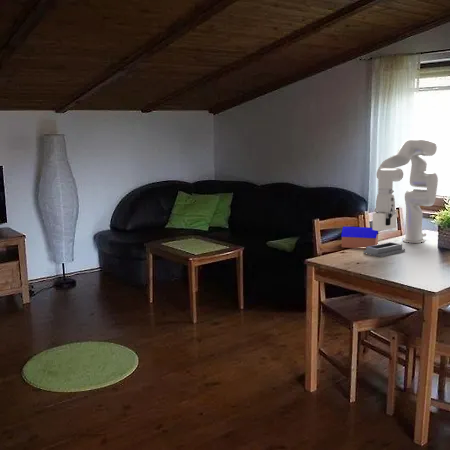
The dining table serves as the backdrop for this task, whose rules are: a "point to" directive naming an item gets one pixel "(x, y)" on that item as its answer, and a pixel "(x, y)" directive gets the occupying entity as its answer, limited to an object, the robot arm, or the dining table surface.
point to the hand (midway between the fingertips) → (384, 224)
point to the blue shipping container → (359, 237)
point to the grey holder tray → (384, 249)
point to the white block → (383, 221)
